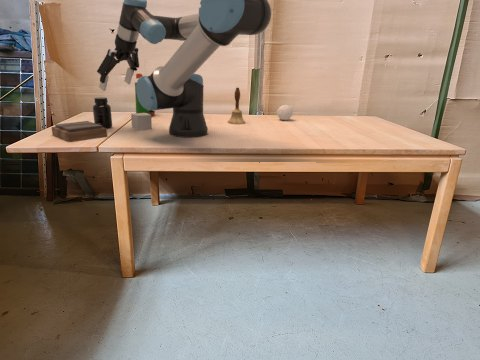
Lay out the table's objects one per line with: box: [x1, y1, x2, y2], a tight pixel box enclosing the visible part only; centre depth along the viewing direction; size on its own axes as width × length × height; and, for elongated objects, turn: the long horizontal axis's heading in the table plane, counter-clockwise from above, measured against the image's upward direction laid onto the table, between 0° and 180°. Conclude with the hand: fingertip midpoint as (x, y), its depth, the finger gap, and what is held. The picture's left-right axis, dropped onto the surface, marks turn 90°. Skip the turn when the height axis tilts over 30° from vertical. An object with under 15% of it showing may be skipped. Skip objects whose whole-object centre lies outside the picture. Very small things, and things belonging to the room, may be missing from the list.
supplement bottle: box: [92, 96, 113, 130], centre depth 149 cm, size 7×7×12 cm
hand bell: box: [227, 87, 246, 125], centre depth 170 cm, size 8×8×16 cm
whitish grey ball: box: [276, 104, 294, 121], centre depth 182 cm, size 8×8×8 cm
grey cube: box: [130, 112, 153, 131], centre depth 151 cm, size 6×6×6 cm
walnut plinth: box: [51, 120, 108, 143], centre depth 135 cm, size 14×14×4 cm
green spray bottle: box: [134, 73, 156, 118], centre depth 179 cm, size 10×9×20 cm
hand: (115, 85), depth 149 cm, fingers open, 13 cm apart
